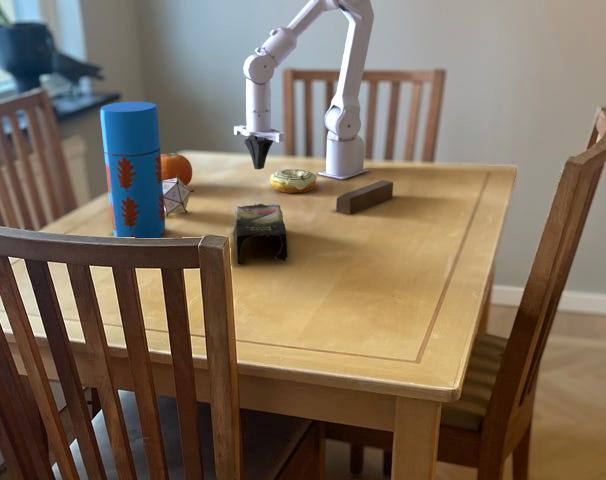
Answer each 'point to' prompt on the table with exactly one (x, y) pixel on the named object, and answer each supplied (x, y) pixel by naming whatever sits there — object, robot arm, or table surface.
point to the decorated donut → (293, 180)
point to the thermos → (134, 169)
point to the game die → (175, 195)
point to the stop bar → (364, 197)
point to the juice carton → (259, 226)
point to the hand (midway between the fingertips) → (259, 168)
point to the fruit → (176, 167)
